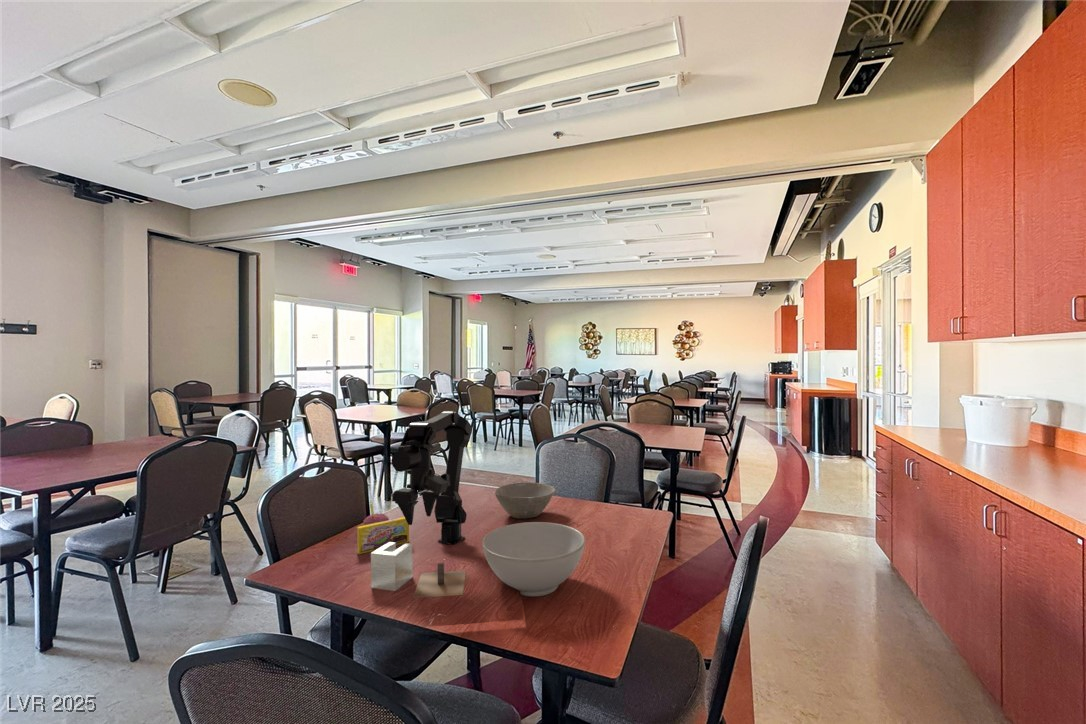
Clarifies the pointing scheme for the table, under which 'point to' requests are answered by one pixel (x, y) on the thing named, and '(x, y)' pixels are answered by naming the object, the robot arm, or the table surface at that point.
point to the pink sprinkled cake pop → (374, 517)
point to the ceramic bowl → (524, 498)
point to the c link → (391, 566)
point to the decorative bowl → (533, 555)
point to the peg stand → (440, 583)
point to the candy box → (382, 534)
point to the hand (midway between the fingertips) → (419, 520)
